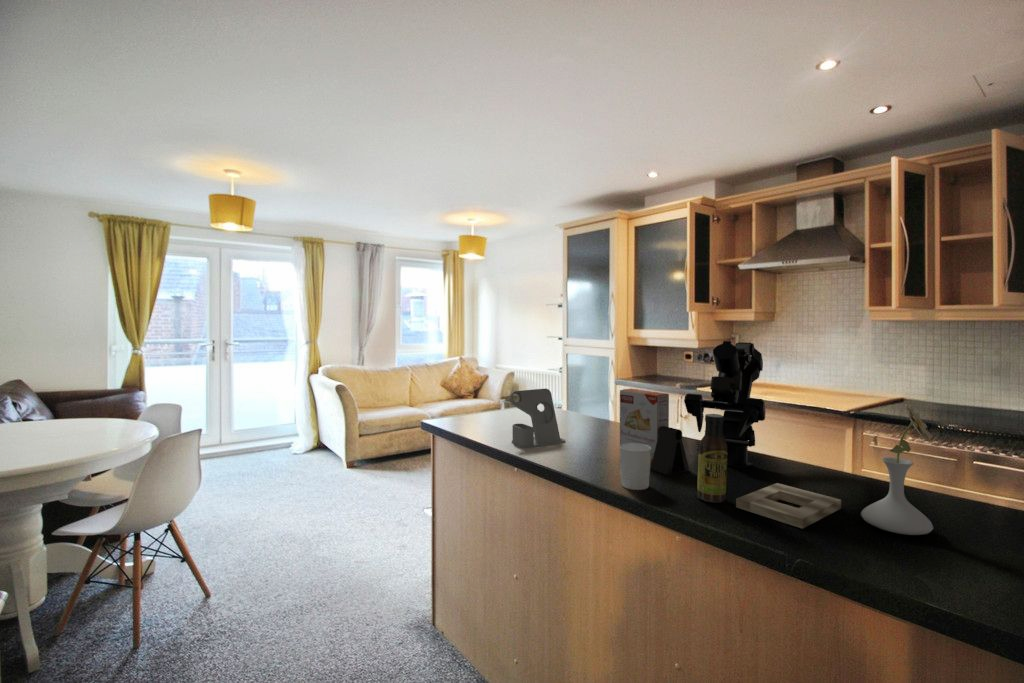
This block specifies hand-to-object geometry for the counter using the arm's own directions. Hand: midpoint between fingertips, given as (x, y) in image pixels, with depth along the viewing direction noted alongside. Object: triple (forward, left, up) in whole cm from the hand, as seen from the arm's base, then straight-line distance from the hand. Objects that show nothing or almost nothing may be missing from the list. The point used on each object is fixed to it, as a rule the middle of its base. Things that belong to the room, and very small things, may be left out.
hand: (718, 433), depth 121 cm
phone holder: (+6, -64, -14) cm, 66 cm away
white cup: (+14, -14, -14) cm, 25 cm away
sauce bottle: (+7, +3, -14) cm, 16 cm away
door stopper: (-4, -17, -14) cm, 22 cm away
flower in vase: (-9, +34, -14) cm, 38 cm away
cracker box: (-6, -28, -14) cm, 32 cm away
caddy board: (-2, +16, -14) cm, 21 cm away
